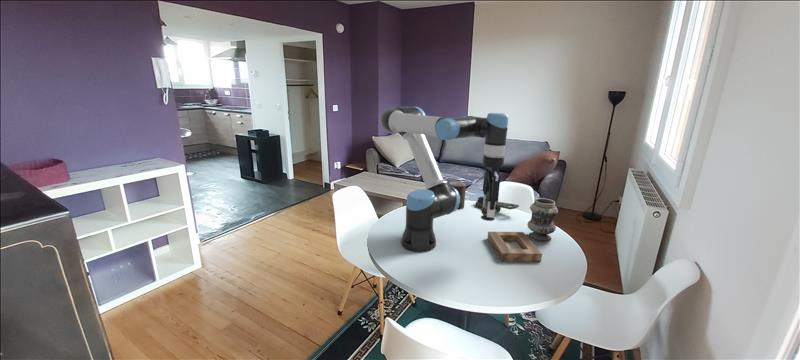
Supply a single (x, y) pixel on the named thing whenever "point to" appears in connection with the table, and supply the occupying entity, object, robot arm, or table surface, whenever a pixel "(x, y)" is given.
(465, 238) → the table surface
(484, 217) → the stone chess piece
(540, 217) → the apothecary jar
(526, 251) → the block
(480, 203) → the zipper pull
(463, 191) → the pillar candle
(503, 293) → the table surface
